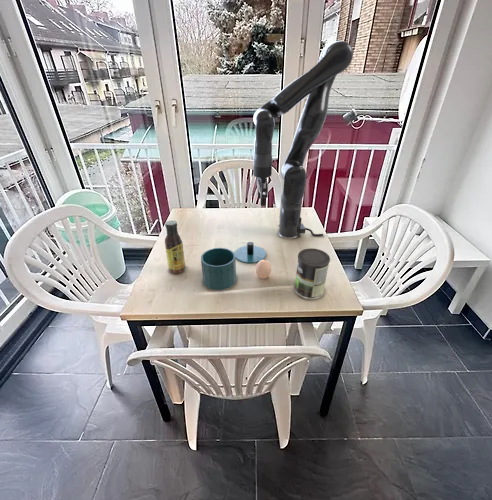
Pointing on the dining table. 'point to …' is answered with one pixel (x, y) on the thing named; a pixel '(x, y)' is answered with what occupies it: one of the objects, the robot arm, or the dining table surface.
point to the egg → (263, 269)
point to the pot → (218, 268)
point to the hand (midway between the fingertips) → (261, 201)
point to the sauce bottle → (174, 248)
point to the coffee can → (311, 273)
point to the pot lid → (250, 253)
